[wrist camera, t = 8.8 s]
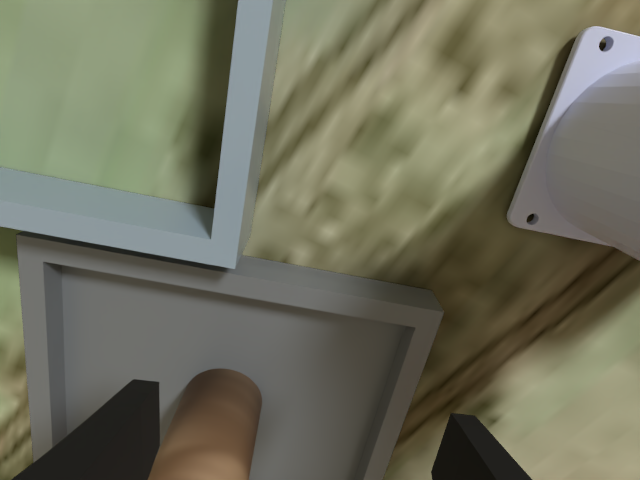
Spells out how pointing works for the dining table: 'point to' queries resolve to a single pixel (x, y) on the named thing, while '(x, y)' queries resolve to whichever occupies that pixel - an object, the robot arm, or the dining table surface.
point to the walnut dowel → (211, 430)
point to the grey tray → (226, 348)
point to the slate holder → (162, 214)
